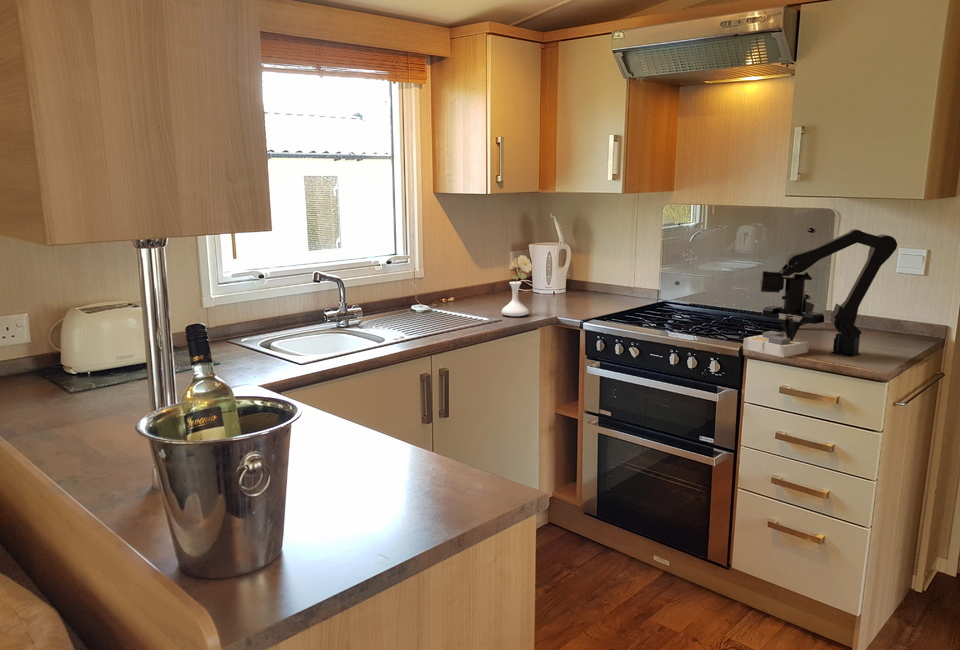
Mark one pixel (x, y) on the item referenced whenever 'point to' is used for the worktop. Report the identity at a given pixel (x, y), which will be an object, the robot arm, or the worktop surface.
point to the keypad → (775, 347)
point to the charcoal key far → (772, 334)
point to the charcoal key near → (779, 340)
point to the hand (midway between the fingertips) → (790, 340)
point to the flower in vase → (515, 306)
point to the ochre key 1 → (761, 339)
